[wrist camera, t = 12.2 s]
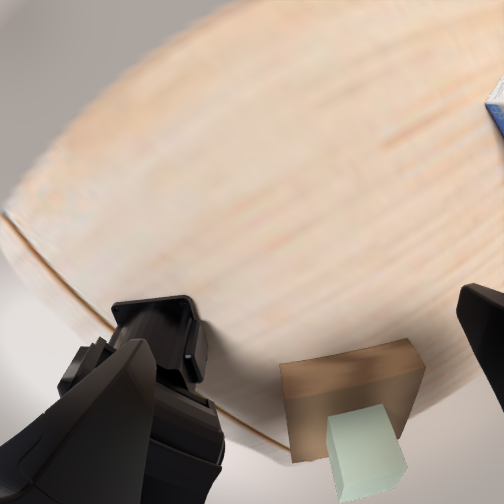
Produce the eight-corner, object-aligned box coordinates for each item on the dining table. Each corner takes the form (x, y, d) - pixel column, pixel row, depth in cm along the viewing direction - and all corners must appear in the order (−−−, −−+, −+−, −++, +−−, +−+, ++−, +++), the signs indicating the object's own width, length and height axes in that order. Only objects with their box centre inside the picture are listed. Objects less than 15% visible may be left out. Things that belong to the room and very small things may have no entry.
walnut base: (288, 434, 30) (292, 463, 26) (279, 364, 25) (284, 399, 21) (389, 412, 30) (399, 438, 26) (407, 338, 25) (425, 366, 21)
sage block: (326, 443, 25) (338, 503, 18) (327, 416, 23) (344, 485, 16) (374, 431, 25) (393, 488, 18) (382, 403, 23) (407, 467, 16)
